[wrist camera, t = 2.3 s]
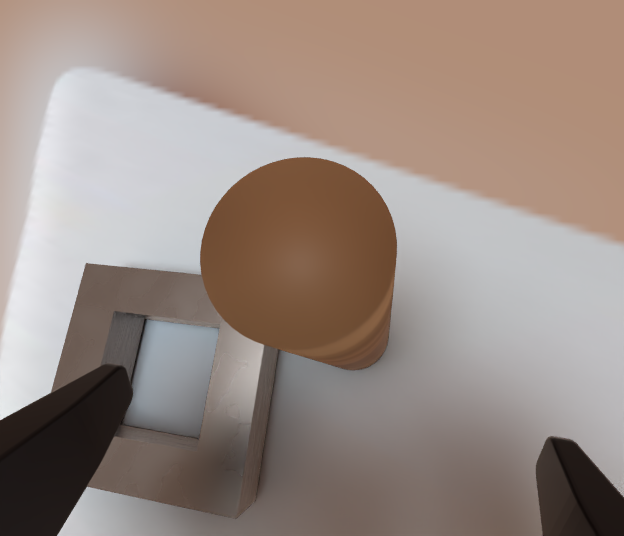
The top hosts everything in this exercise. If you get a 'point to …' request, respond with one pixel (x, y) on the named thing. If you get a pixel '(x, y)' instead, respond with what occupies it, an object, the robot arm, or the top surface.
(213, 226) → the walnut pin
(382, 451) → the top surface
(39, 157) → the top surface
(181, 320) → the square hole frame
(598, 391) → the top surface
